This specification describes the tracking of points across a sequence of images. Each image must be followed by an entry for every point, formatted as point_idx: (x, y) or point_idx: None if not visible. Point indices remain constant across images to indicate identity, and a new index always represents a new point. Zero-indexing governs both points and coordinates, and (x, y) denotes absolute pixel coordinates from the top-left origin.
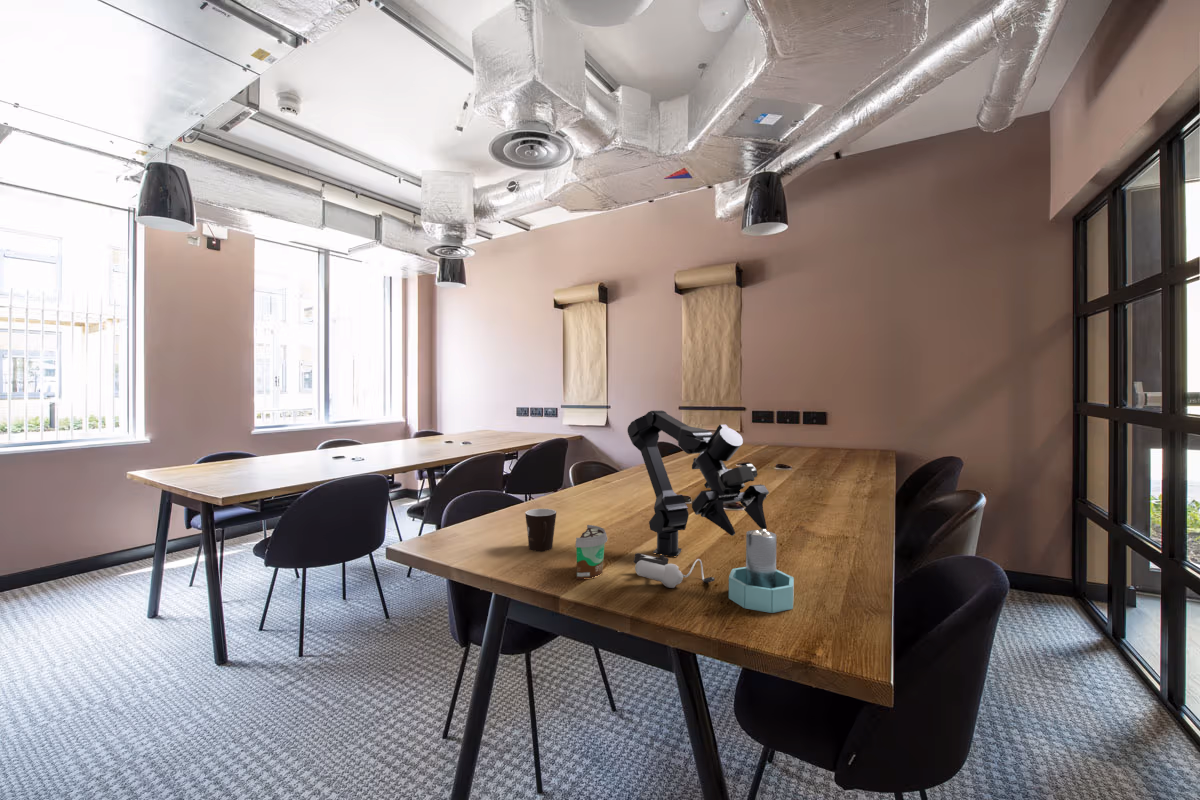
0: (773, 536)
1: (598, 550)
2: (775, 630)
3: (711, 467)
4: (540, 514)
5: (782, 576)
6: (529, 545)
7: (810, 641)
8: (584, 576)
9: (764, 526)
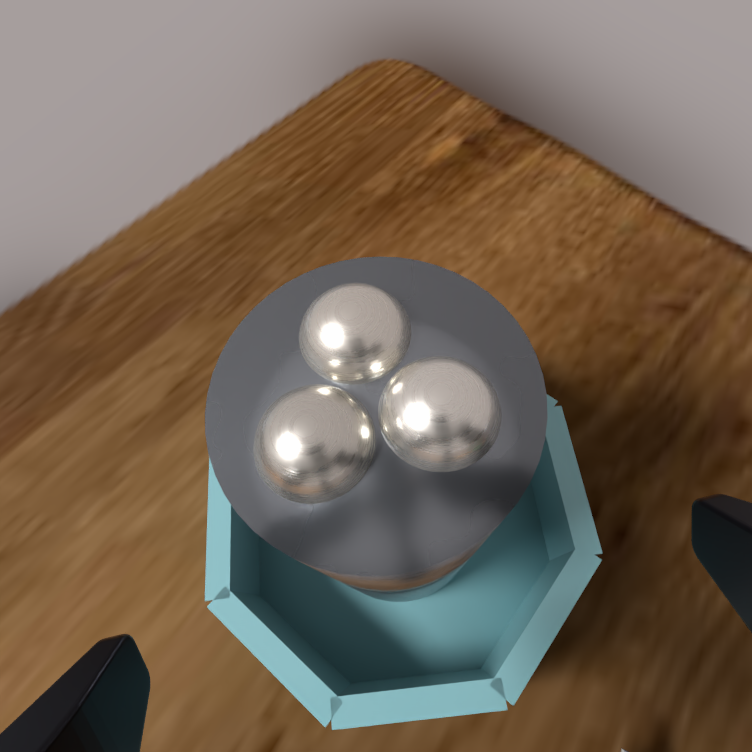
0: (299, 294)
1: None
2: (502, 263)
3: None
4: None
5: (234, 515)
6: None
7: (430, 192)
8: None
9: (120, 657)
